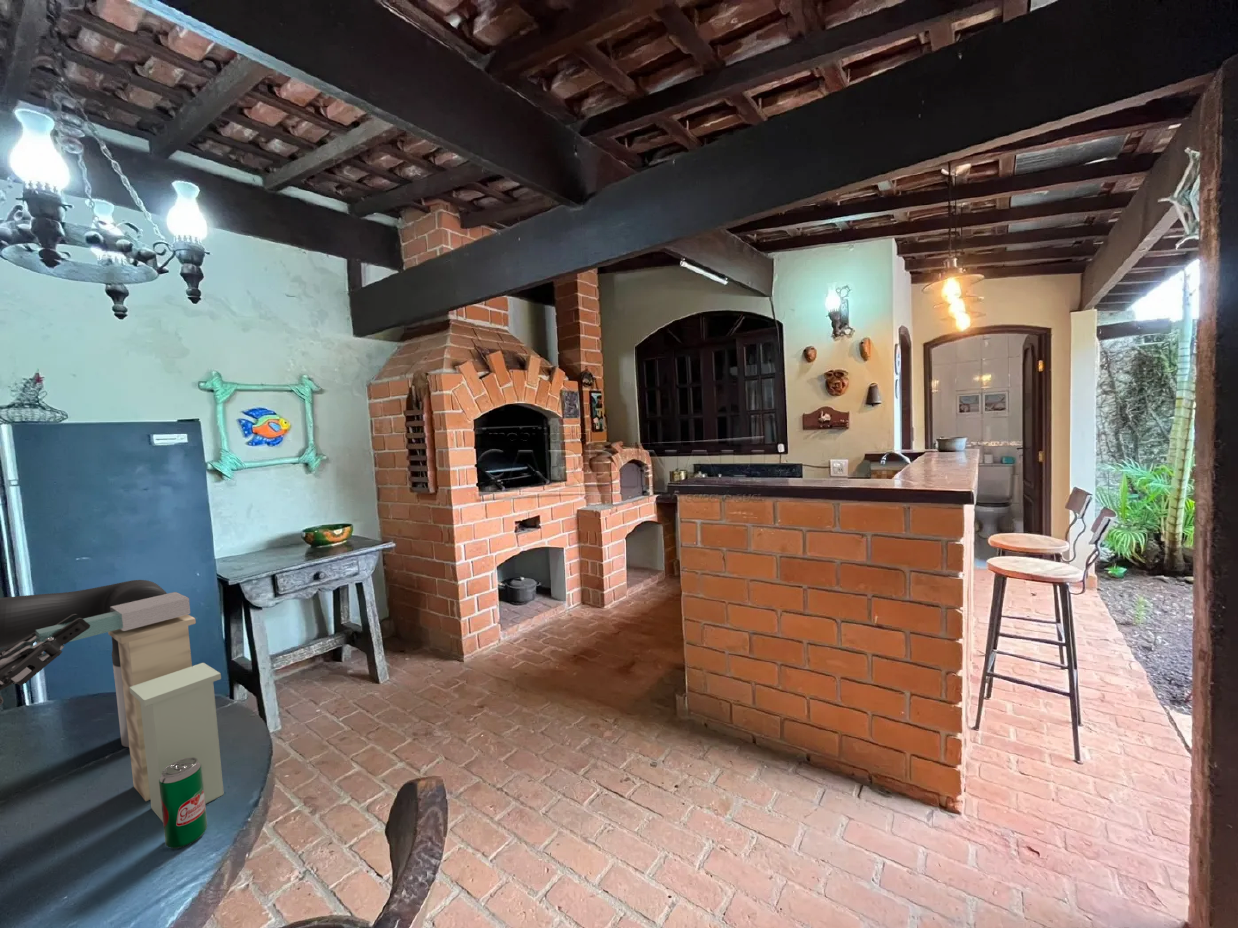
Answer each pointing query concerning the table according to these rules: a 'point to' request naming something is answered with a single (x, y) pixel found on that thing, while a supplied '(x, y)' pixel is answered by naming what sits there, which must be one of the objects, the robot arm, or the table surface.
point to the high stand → (149, 676)
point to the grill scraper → (129, 616)
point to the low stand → (181, 726)
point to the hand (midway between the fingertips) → (82, 619)
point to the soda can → (183, 802)
